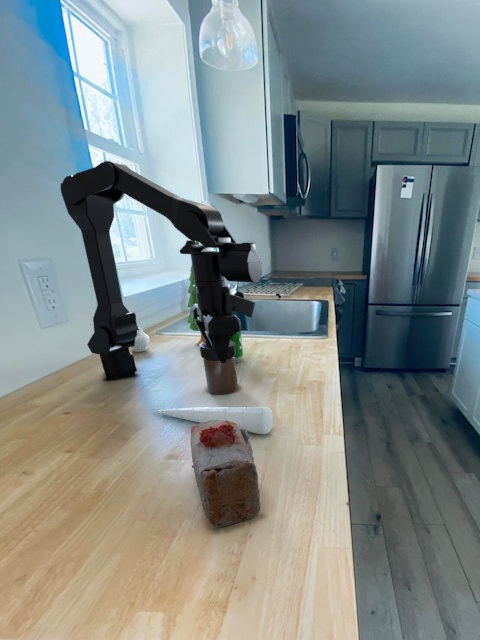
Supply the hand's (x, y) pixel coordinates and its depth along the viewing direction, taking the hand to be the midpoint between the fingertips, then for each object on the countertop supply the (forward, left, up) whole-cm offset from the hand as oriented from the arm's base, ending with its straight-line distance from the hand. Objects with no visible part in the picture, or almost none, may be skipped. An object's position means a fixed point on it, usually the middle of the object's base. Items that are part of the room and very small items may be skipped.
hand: (219, 358), depth 79 cm
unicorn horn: (-6, -17, -7) cm, 19 cm away
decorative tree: (+5, +40, -7) cm, 41 cm away
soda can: (+7, +20, -7) cm, 22 cm away
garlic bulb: (-14, +41, -7) cm, 44 cm away
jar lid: (0, 0, +3) cm, 3 cm away
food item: (-9, -38, -7) cm, 40 cm away
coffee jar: (0, 0, -7) cm, 7 cm away
